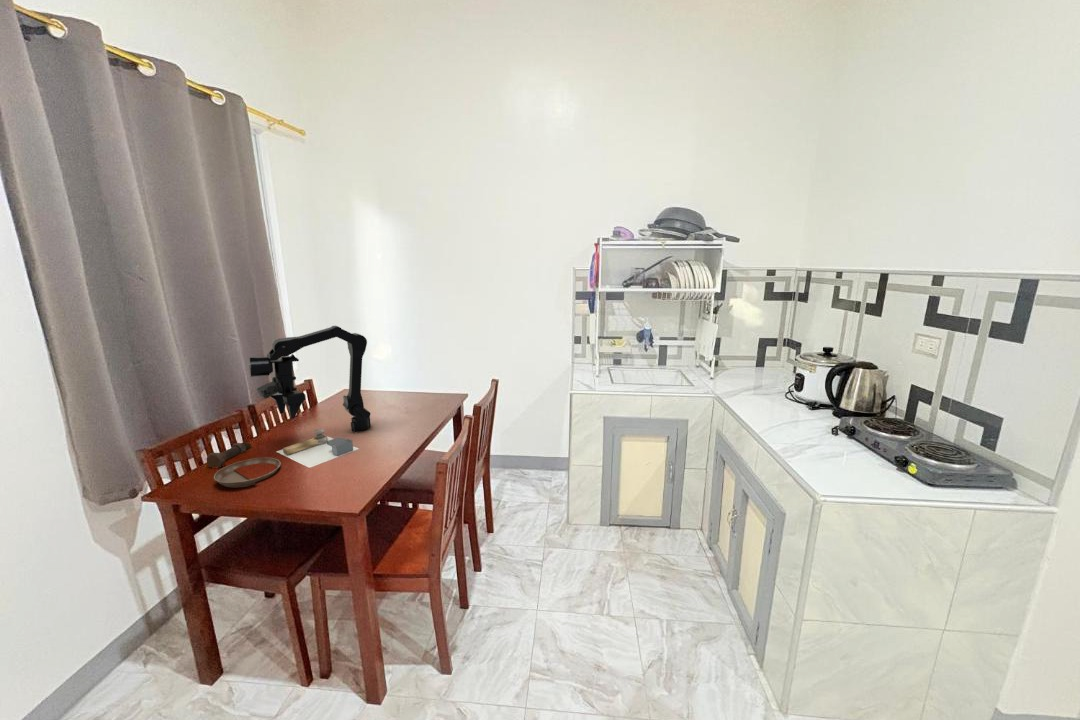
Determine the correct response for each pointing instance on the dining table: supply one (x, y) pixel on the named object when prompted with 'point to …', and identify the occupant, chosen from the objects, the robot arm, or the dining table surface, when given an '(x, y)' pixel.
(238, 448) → the bolt
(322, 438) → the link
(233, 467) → the plant saucer
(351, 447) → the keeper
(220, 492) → the dining table surface
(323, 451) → the base plate
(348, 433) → the dining table surface
